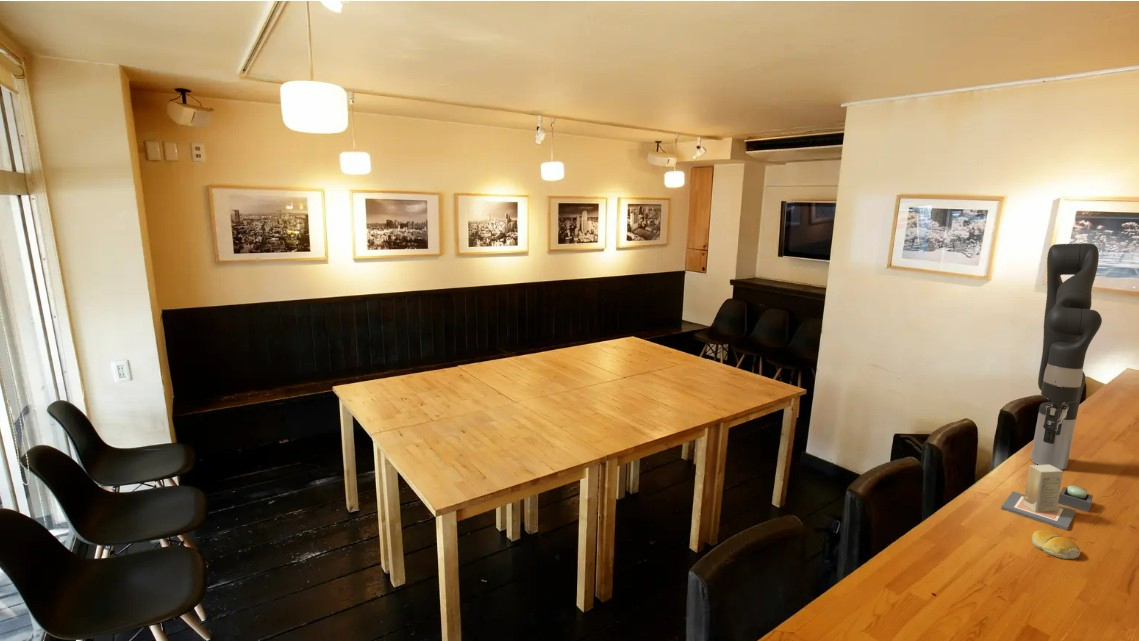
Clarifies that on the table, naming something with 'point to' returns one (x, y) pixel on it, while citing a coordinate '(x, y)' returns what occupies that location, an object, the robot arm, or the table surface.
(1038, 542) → the bread roll
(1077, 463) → the table surface
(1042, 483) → the skincare box
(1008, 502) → the picture board
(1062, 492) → the button housing
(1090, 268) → the robot arm
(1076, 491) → the button
